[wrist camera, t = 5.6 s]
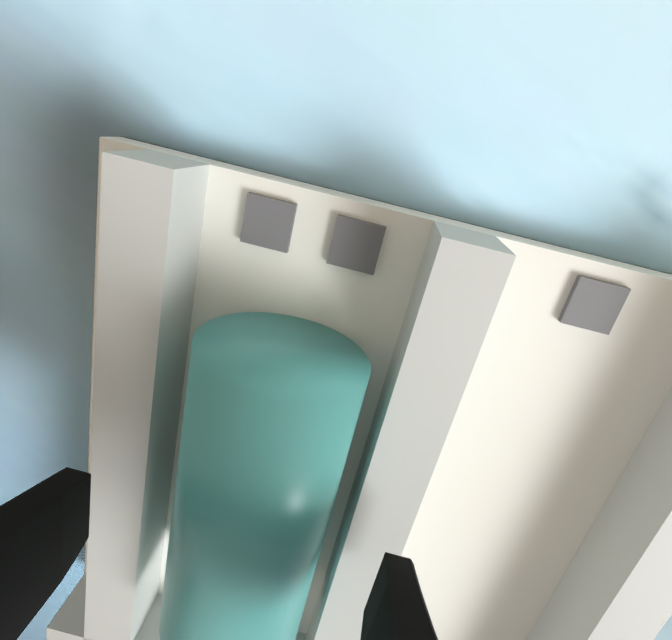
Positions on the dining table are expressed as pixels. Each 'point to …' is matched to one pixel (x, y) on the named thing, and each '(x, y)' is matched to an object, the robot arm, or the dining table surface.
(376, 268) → the comb rack
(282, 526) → the teal rounded tube
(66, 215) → the dining table surface
